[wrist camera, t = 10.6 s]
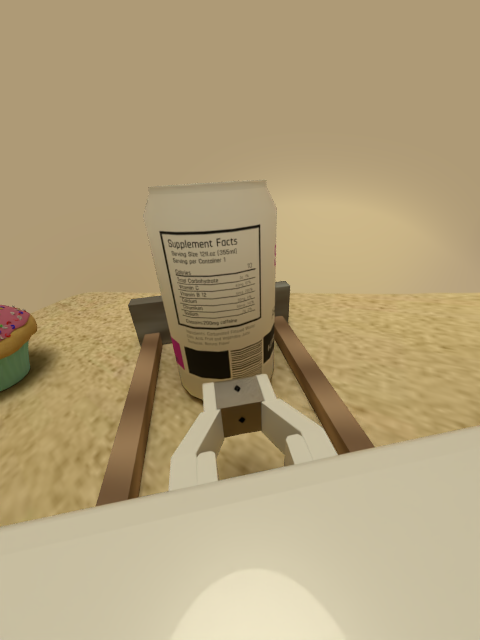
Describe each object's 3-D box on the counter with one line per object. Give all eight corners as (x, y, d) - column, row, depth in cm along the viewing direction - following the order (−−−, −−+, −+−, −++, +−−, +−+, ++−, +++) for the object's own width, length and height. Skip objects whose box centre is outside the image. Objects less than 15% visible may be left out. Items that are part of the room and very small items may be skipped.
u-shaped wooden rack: (437, 542, 11) (485, 484, 9) (53, 652, 9) (-25, 617, 7) (283, 319, 30) (285, 280, 27) (143, 339, 28) (131, 299, 25)
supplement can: (162, 380, 22) (108, 189, 14) (224, 337, 27) (209, 182, 20) (231, 429, 17) (204, 184, 10) (290, 365, 23) (301, 177, 15)
